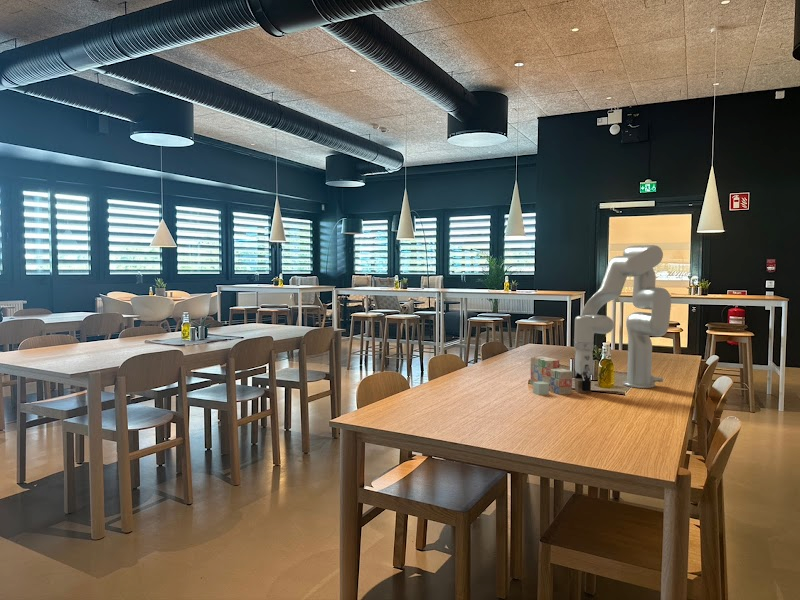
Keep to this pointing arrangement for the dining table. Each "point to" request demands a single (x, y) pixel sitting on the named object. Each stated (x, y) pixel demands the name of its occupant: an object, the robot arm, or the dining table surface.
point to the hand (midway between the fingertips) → (582, 388)
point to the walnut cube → (580, 386)
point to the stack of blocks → (551, 374)
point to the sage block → (541, 388)
